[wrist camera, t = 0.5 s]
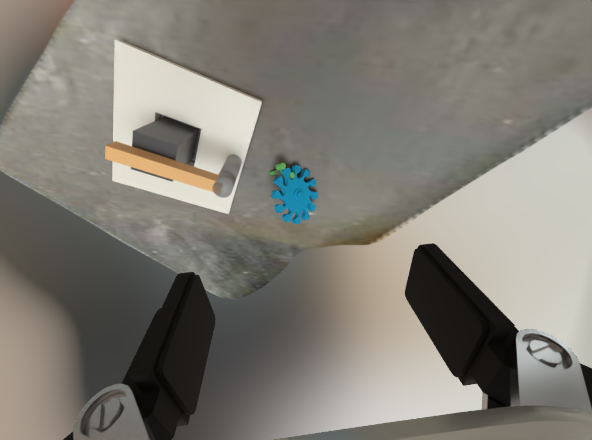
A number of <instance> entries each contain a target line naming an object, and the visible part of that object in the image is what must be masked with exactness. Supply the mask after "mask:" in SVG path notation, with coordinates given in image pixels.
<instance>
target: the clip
mask: <svg viewBox="0 0 592 440" xmlns="http://www.w3.org/2000/svg"><path fill="white" fill-rule="evenodd" d="M105 159H107V160H110V161H113V162H117V163H120V164H123V165H126V166H130V167H133V168H136V169H139V170H143V171H146V172H149V173H152V174H156V175H159V176H162V177H165V178H169V179H172V180H175V181H178V182H182V183H185V184H188V185H192V186H195V187H198V188H201V189H205V190H208V191H211V192H214V193H215V194H216V195H217V196H219V197H222V198H225V197H228V196H230V195H231V193H232V190H233V187H234V184H235V177H234V175H233V174H232V173H230V172H227V171H224V172H221V173H220V174H219V175H218V174H215V173H212V172H208V171H205V170H202V169H199V168H196V167H193V166H190V165H187V164H184V163H181V162H178V161H175V160H172V159H169V158H166V157H163V156H160V155H157V154H154V153H150V152H147V151H144V150H141V149H138V148H135V147H132V146H129V145H126V144H123V143H120V142H117V141H115V142H113V143H110V144H108V145H106V146H105Z"/></svg>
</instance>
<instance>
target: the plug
mask: <svg viewBox="0 0 592 440" xmlns="http://www.w3.org/2000/svg"><path fill="white" fill-rule="evenodd" d="M198 133H199V129H198V128H196V127H193V126H190V125H187V124H185V123H182V122H179V121H177V120H174V119H171V118H168V117H166V116H165V117H163V118H161V119H158V120H156V121H154V122H152V123H149V124H147V125H145V126H143V127H140V128H138V129H136V130H134V131H133V138H132V147H135V148H138V149H141V150H144V151H147V152H150V153H154V154H157V155H160V156H163V157H166V158H169V159H172V160H175V161H178V162H181V163H184V164H187V165H188V164H189V163H190V162H191V160H192V159H193V158H194V154H195V149H196V143H197V138H198ZM131 169H132V170H135V171H139V172H142V173H145V174H149V175H152V176H155V177H158V178H162V179H165V180H168V181H172V182H173V180H172V179H169V178H165V177H162V176H159V175H156V174H152V173H149V172H146V171H143V170H139V169H136V168H133V167H131Z"/></svg>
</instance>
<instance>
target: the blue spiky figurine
mask: <svg viewBox="0 0 592 440" xmlns="http://www.w3.org/2000/svg"><path fill="white" fill-rule="evenodd" d="M300 170H301V167H300V166H298V165H293V166H292V172H291V169H290V168H286V165H285V163H279V164H276V170H274V171H270V175H277V177H276V178H275V180H274V183H275V184H276V185H278V186H279V187H280V189H281V191H282V193H280V192H279V191H278V190H273V191H272V195H271V197H272V198H273V199H278V198H279V199H281V200H282V201H283V202H284V204H283V206H282V205H280V204H276V205H275V211H276V212H277V213H281V212H282V211H283V210H284V209H286V208H288V210H289V212H288V214H284V215H283V216H282V219H283V220H284V221H285V222H289V221H290V220H291V217H292V215H293V214H294V213H296V215H295V217H294V218H293V219H292V223H295V224H300V222H301V220H300V215H301V212H302V211H303V213H302V216H301V218H302V220H308V219H309V218H310V216H309V214H308V211H307V204H308V210H309V211H314V210H315V208H316V205H315V204H313V203H312V202H311V200H310V198H309V196H310V197H311V199H317V196H318V193H317V192H311V191H310V190H309V189H308V186H310V187H314V186H316V183H315V179H311V180H309V181H308V182H304V177H308V176H309V175H310V173H309V171H308V170H307V169H305V170H302V173H301V175H300V177H299V178H298V177H297V173H298V172H300Z"/></svg>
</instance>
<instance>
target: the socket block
mask: <svg viewBox="0 0 592 440" xmlns="http://www.w3.org/2000/svg"><path fill="white" fill-rule="evenodd" d="M261 104H262V100H260V99H258V98H255V97H253V96H251V95H248V94H246V93H244V92H241V91H239V90H237V89H234V88H232V87H230V86H227V85H225V84H223V83H220V82H218V81H215V80H213V79H211V78H208V77H206V76H204V75H201V74H199V73H197V72H194V71H192V70H190V69H187V68H185V67H183V66H180V65H178V64H176V63H173V62H171V61H169V60H166V59H164V58H162V57H159V56H157V55H155V54H152V53H150V52H148V51H145V50H143V49H141V48H138V47H136V46H134V45H131V44H129V43H127V42H124V41H120V40H115V59H114V118H113V142H115V141H117V142H120V143H123V144H126V145H129V146H132V138H133V131H134V130H136V129H138V128H140V127H143V126H145V125H147V124H149V123H152V122H154V121H156V120H158V119H160V114H162V115H165V116H168V117H170V118H173V119H176V120H178V121H181V122H184V123H187V124H189V125H192V126H195V127H197V128H200V129H201V133H200V138H199V144H198V149H197V154H196V159H195V162H192V161H191V162H190V163H189V164H188V165H190V166H193V167H196V168H199V169H202V170H205V171H208V172H212V173H215V174H218V175H219V174H220V173H221V172H224V171H227V172H230V173H232V174H233V175H234V177H235V184H234V187H233V190H232V193H231V195H230V196H228V197H225V198H222V197H219V196H217V195H216V194H215V193H214V192H211V191H208V190H205V189H201V188H198V187H195V186H192V185H188V184H185V183H182V182H178V181H175V180H173V182H172V181H168V180H165V179H162V178H158V177H155V176H152V175H149V174H145V173H142V172H139V171H135V170H132V169H131V167H130V166H126V165H123V164H120V163H117V162H113V177H112V181H115V182H119V183H122V184H126V185H129V186H132V187H136V188H139V189H143V190H146V191H150V192H153V193H157V194H160V195H164V196H167V197H171V198H174V199H178V200H181V201H185V202H188V203H191V204H195V205H198V206H202V207H205V208H209V209H212V210H216V211H219V212H223V213H226V214H229V211H230V208H231V204H232V201H233V198H234V194H235V191H236V188H237V184H238V181H239V178H240V174H241V171H242V168H243V164H244V161H245V158H246V154H247V151H248V148H249V144H250V141H251V138H252V134H253V131H254V128H255V124H256V121H257V118H258V114H259V111H260V108H261Z"/></svg>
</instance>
